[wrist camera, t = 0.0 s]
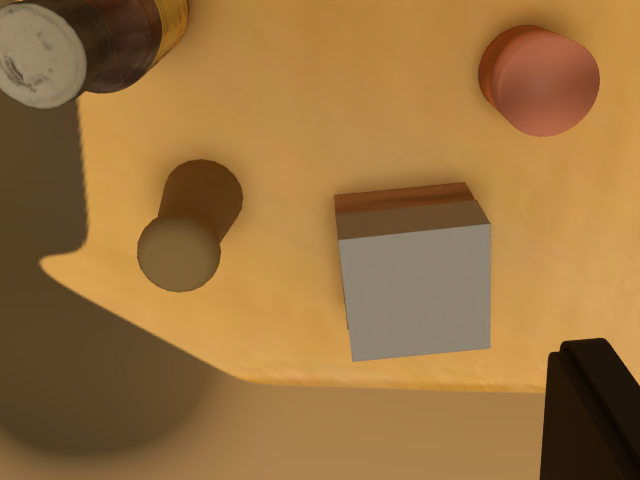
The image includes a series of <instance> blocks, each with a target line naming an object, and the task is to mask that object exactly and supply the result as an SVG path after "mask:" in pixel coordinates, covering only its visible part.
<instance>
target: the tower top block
mask: <svg viewBox="0 0 640 480" xmlns="http://www.w3.org/2000/svg"><path fill="white" fill-rule="evenodd" d="M337 232H338V244H339V252H340V261H341V269H342V277H343V286H344V294H345V302H346V311H347V319H348V327H349V336H350V344H351V352H352V361H353V362H356V361H366V360H377V359H387V358H397V357H407V356H417V355H428V354H438V353H448V352H458V351H468V350H479V349H489V348H490V274H491V223H490V222H489V220H488V218H487V217H486V215H485V213H484V212H483V210H482V208H481V207H480V205H479V203H478V202H477V200H473V201H464V202H455V203H445V204H436V205H427V206H418V207H409V208H400V209H391V210H382V211H373V212H364V213H355V214H346V215H337Z"/></svg>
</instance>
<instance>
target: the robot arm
mask: <svg viewBox="0 0 640 480" xmlns="http://www.w3.org/2000/svg"><path fill="white" fill-rule="evenodd" d="M540 480H640V386H639V384H638V383H637V382H636V380H635V379H634V377H633V376H632V374H631V373H630V372H629V370H628V369H627V367H626V366H625V365H624V363H623V362H622V360H621V359H620V358H619V356H618V355H617V353H616V352H615V351H614V349H613V348H612V346H611V345H610V344H609V342H608V341H607V340H606V339H604V338H594V339H582V340H571V341H564V342H562V344H561V346H560V351H559V352H551V353H550V354H549V357H548V367H547V382H546V396H545V410H544V426H543V439H542V454H541V468H540Z"/></svg>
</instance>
